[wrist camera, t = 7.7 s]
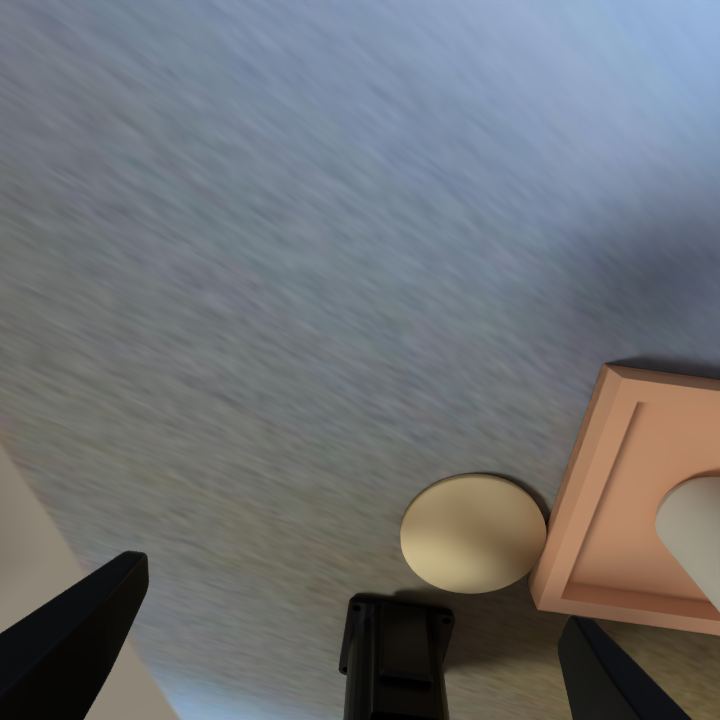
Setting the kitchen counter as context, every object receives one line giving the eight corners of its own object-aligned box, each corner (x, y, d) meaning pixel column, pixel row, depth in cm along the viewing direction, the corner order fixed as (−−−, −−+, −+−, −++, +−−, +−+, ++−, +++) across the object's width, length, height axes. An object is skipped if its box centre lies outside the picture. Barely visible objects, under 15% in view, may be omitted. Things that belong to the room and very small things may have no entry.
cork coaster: (522, 595, 26) (525, 602, 25) (390, 576, 26) (390, 583, 25) (561, 484, 23) (564, 490, 22) (413, 464, 23) (413, 469, 22)
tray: (762, 615, 25) (789, 645, 24) (526, 582, 25) (537, 609, 24) (894, 403, 20) (941, 421, 19) (603, 363, 20) (623, 377, 19)
